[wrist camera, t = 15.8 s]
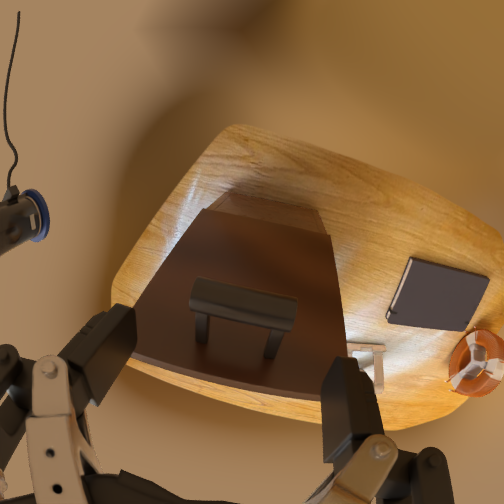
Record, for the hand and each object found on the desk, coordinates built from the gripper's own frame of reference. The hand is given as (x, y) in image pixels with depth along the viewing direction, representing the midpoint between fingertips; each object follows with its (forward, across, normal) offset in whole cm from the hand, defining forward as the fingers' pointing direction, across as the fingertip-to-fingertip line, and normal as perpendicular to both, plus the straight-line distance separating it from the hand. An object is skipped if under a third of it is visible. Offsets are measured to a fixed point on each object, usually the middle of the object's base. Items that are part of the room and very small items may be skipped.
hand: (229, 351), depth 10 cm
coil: (+33, -50, +21) cm, 64 cm away
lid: (+11, 0, +3) cm, 12 cm away
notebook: (+33, -35, +11) cm, 50 cm away
